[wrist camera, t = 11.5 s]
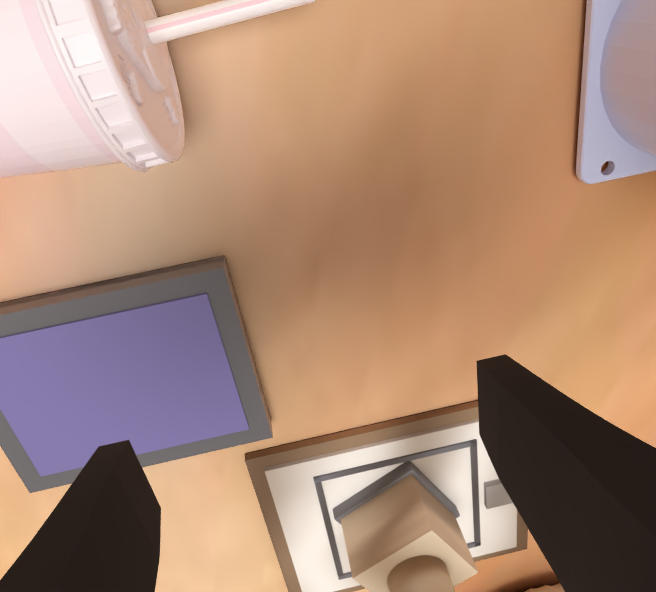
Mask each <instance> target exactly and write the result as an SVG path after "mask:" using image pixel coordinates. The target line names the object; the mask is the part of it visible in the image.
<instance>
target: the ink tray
mask: <svg viewBox="0 0 656 592" xmlns="http://www.w3.org/2000/svg"><path fill="white" fill-rule="evenodd" d="M272 437H273V436H272V425H271V419H270V415H269V412H268V408H267V405H266V401H265V398H264V394H263V391H262V387H261V384H260V380H259V376H258V373H257V369H256V366H255V362H254V359H253V355H252V352H251V348H250V345H249V341H248V338H247V334H246V331H245V327H244V324H243V320H242V317H241V313H240V310H239V306H238V302H237V299H236V295H235V292H234V288H233V285H232V281H231V278H230V274H229V271H228V267H227V264H226V260H225V257H224V256H219V257H215V258H210V259H205V260H201V261H196V262H191V263H186V264H182V265H177V266H172V267H167V268H163V269H158V270H153V271H148V272H144V273H139V274H134V275H130V276H125V277H120V278H115V279H111V280H106V281H101V282H96V283H92V284H87V285H82V286H78V287H73V288H68V289H63V290H59V291H54V292H49V293H44V294H40V295H35V296H30V297H25V298H21V299H16V300H11V301H7V302H2V303H0V446H1V448H2V449H3V451H4V452H5V454H6V456H7V457H8V459H9V460H10V462H11V464H12V465H13V467H14V468H15V470H16V472H17V473H18V475H19V476H20V478H21V479H22V481H23V483H24V484H25V486H26V487H27V489H28V491H29V492H30V493H32V492H37V491H41V490H45V489H50V488H54V487H58V486H63V485H67V484H71V483H73V482H74V480H75V479H76V478H77V476H78V475H79V473H80V472H81V470H82V469H83V468H84V466H85V465H86V463H87V462H88V460H89V459H90V458H91V456H92V455H93V453H94V452H95V451H96V449H97V448H98V447H99V446H103V445H107V444H112V443H116V442H121V441H125V440H129V441H130V443H131V445H132V447H133V450H134V452H135V454H136V456H137V458H138V460H139V462H140V465H141V467H146V466H150V465H154V464H159V463H163V462H168V461H172V460H176V459H181V458H185V457H189V456H194V455H198V454H203V453H207V452H211V451H216V450H220V449H224V448H229V447H233V446H237V445H242V444H246V443H251V442H255V441H259V440H264V439H268V438H272Z"/></svg>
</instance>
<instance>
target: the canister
mask: <svg viewBox="0 0 656 592" xmlns="http://www.w3.org/2000/svg"><path fill="white" fill-rule="evenodd" d="M525 592H565V591H564V589H563V587H562V586H561V584H560V583H559V584H556V585H553V586H548V585H545V586H542V587H539V588H535V589H532V588H530V589H529V590H527V591H525Z"/></svg>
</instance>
